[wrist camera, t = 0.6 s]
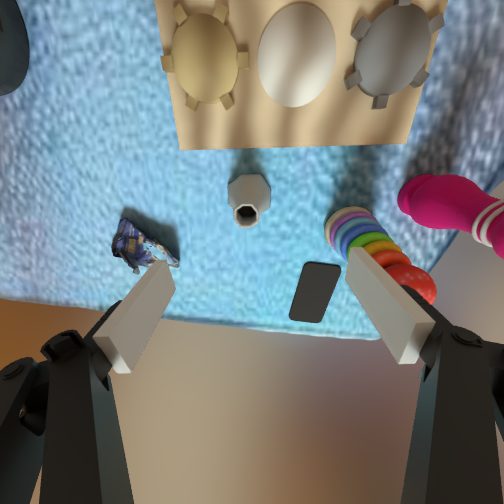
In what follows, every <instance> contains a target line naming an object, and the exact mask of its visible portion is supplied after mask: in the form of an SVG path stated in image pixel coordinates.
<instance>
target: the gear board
mask: <svg viewBox="0 0 504 504" xmlns="http://www.w3.org/2000/svg"><path fill="white" fill-rule="evenodd" d="M154 1H155V7H156V12H157V18H158V24H159V30H160V36H161V41H162V47H163V53H164V56H160V57H161V62H162V68H163V70H164V71H165V72H166V73H167V76H168V82H169V88H170V94H171V100H172V106H173V111H174V117H175V123H176V129H177V135H178V140H179V146H180V150H203V149H239V148H275V147H311V146H347V145H382V144H406V142H407V139H408V136H409V132H410V129H411V125H412V122H413V118H414V115H415V112H416V108H417V105H418V101H419V98H420V95H421V91H422V88H423V84H424V82H425V80H426V79H427V78H428V76H429V75H430V74H429V73H428V72H427V71H428V67H429V64H430V60H431V57H432V54H433V50H434V47H435V43H436V40H437V36H438V33H439V30H440V28H442V27H443V26H444V18H443V16H444V13H445V9H446V6H447V2H448V0H154Z"/></svg>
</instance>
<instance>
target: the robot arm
mask: <svg viewBox="0 0 504 504" xmlns="http://www.w3.org/2000/svg"><path fill="white" fill-rule="evenodd" d="M28 63H29V47H28V40H27V35H26V30H25V27H24V23H23V20H22V17H21V15H20V12H19V9H18V7H17V5H16V3H15V0H0V96H2V95H6V94H9V93H11V92H13V91H14V90H16V89H17V88H18V87H19V86H20V85H21V83H22V82H23V80H24V78H25V76H26V73H27V69H28ZM345 280H346V282H347V284H348V285H349V287H350V288H351V290H352V292H353V293H354V295H355V296H356V298H357V299H358V301H359V303H360V304H361V306H362V307H363V309H364V310H365V312H366V314H367V315H368V317H369V318H370V320H371V322H372V323H373V325H374V326H375V328H376V329H377V331H378V333H379V334H380V336H381V337H382V339H383V340H384V342H385V343H386V345H387V347H388V348H389V350H390V351H391V353H392V354H393V356H394V358H395V359H396V361H397V363H398V364H415V363H416V361H417V359H418V357H419V355H420V357H421V358H422V359H423V361H424V362H425V365H424V367H423V368H422V371H421V372H420V374H419V376H418V378H421V383H420V389H419V395H418V401H417V407H416V413H415V419H414V425H413V431H412V437H411V443H410V449H409V456H408V461H407V467H406V473H405V479H404V486H403V491H402V497H401V503H400V504H503V497H502V487H501V477H500V467H499V457H498V447H497V437H496V428H495V421H496V424H497V426H498V429H499V431H500V434H501V436H502V439H503V441H504V344H499V343H494V342H489V341H484V340H482V338H481V337H480V336H478V335H476V334H475V333H473V332H472V331H470V330H467V329H465V328H462V327H458V326H453V325H452V324H451V323H450V322H449V321H448V320H447V319H446V318H445V317H444V316H443V315H442V314H441V313H439V312H438V311H437V310H436V309H435V308H434V307H433V306H432V305H431V304H429V302H428V301H427V300H426V299H424V298H423V296H421V295H420V294H419V293H418V292H417V291H416V290H415V289H413V288H411V287H409V286H408V285H399V284H398V283H397V282H396V281H395V280H394V279H393V278H392V277H391V276H390V275H389V274H388V273H387V272H386V271H385V270H384V269H383V268H382V267H381V266H380V265H379V264H378V263H377V262H376V261H375V260H374V259H373V258H372V257H371V256H370V255H369V254H368V253H367V252H366V251H365V250H364V249H363V248H362V247H352V248H350V253H349V259H348V265H347V271H346V277H345ZM175 290H176V287H175V284H174V281H173V278H172V275H171V272H170V269H169V266H168V263H167V260H166V259H165V260H156V261H155V262H154V263H153V264H152V265H151V267H150V268H149V269H148V270H147V272H146V273H145V274H144V275H143V276H142V278H141V279H140V280H139V281H138V282H137V284H136V285H135V286H134V287H133V288H132V290H131V291H130V292H129V293H128V295H127V296H126V297H125V298H124V299H123V300H119V301H118V302H116V303H115V304H114V305H112V306H111V307H110V308H109V309H108V310H107V312H106V313H105V315H103V316H102V317H101V319H100V321H98V322H97V323H96V324H95V325H94V327H93V328H92V329H91V330H90V331H89V332H88V333H87V335H86V336H85V337H84V338H82V337H81V336H80V334H79V333H78V331H76V330H67V331H64V332H61V333H59V334H57V335H56V336H54V337H52V338H51V339H50V340H48V341H47V342H46V343H45V344H44V345H43V346H42V348H41V351H40V352H41V353H42V354H43V355H44V356H45V357H46V358H47V360H46V361H43V362H40V363H37V362H36V361H34V359H33V358H31V357H26V358H21V359H19V360H17V361H14V362H12V363H10V364H9V365H7V366H6V367H4V368H3V369H2V370H1V371H0V504H30V501H31V498H32V494H33V491H34V488H35V485H36V482H37V479H38V476H39V473H40V470H41V466H42V476H41V487H40V499H39V504H134V501H133V495H132V490H131V484H130V479H129V474H128V469H127V463H126V458H125V453H124V448H123V442H122V437H121V431H120V427H119V421H118V416H117V410H116V405H115V400H114V395H113V389H112V384H111V378H110V376H109V375H108V372H109V371H110V369H111V367H113V368H114V370H115V371H116V372H117V373H132V371H133V369H134V367H135V365H136V363H137V362H138V360H139V358H140V356H141V354H142V352H143V350H144V348H145V347H146V345H147V343H148V341H149V339H150V337H151V335H152V333H153V331H154V330H155V328H156V326H157V324H158V322H159V320H160V318H161V317H162V315H163V313H164V311H165V309H166V307H167V305H168V303H169V302H170V300H171V298H172V296H173V294H174V292H175ZM20 410H22V411H21V414H20ZM19 414H20V416H19Z"/></svg>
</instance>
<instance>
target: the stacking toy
mask: <svg viewBox="0 0 504 504" xmlns="http://www.w3.org/2000/svg"><path fill="white" fill-rule="evenodd" d="M324 233H325V238H326V241H327V242H328V244H329V245H330V246H331V247H333V248H334V250H335V251H337V253H338V254H339V255H340V256H341V257H343V258H344V259H345V260H346V261H347V262H348V259H349V253H350V248H352V247H362V248H363V249H364V250H365V251H366V252H367V253H368V254H369V255H370V256H371V257H372V258H373V259H374V260H375V261H376V262H377V263H378V264H379V265H380V266H381V267H382V268H383V269H384V270H385V271H386V272H387V273H388V274H389V275H390V276H391V277H392V278H393V279H394V280H395V281H396V282H397V283H398V284H399V285H408V286H409V287H411V288H413V289H415V290H416V291H417V292H418V293H419V294H420V295H421V296H423V298H424V299H426V300H427V301H428V302H429V304H431V305H432V304H433V302H434V300H435V298H436V292H437V291H436V285H435V283H434V281H433V279H432V278H431V277H430V276H429V274H428V273H426V272H425V271H424V270H422V269H420V268H418V267H416V266H413V265H411V261H410V259H409V258H408V257H407V256H406V255H405V254H403V252H402V250H401V249H400V248H399V246H397V245H396V244H394V242H393V240H392V239H391V238H390V237H389V235H388V233H387V232H386V231H385V230H384V229H383V228H382V226H381V225H380V224H379V223H378V221H377V220H376V218H375V217H374V216H372V214H371V213H370V212H369V211H368V210H366V209H364V208H362V207H358V206H349V207H345V208H342V209H340V210H338V211H337V212H335V213H334V214H333V215H332V216H331V217H330V218H329V220H328V221H327V223H326V226H325V231H324Z"/></svg>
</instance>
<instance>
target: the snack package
mask: <svg viewBox="0 0 504 504" xmlns="http://www.w3.org/2000/svg"><path fill="white" fill-rule="evenodd" d="M118 227H119V228H118V230H117V236H116V237H115V238H114V240H113V242H112V247H111V248H112V253H113V256H114V257H120V258H123V259H124V261H125V262H126V263H127V264H128V266H130V267H131V268H133V269H134V270H133V273H135V274H139V273H140V271H139V268H138V267H139V266H138V265H140V266H142V265H143V266H146V267H151V265H152V264H153V263H154V262H155V261H156V260H160V259H158V258H157V257H155V256H154V255H153V254H152V253H151V251H146V250H145V251H144V250H143V245H142V243H141V242H144V243H148V244H151V245H153V246H154V247H156V248H158V249H159V250H160V251H161V252H162V253H163V254H164V255H165V256H166V258H168V259H169V260H170V261H171V262H173V263H172V264H168V266H172V267H176V268H178V267H179V262H178V260H176V259H175V258H174V256H173V255H171V253H170V252H169V251H168V249H167V248H166V247H164V245H163V244H161V243H159V242H158V241H157V240H156V239H155V238H153V237H152V236H150V235H148V234H147V233H146V232H144V231H142V230H141V229H139V228H138V227H136V226H135V225H134V224H133V223H132V222H131V221H129V219H128V218H123V219H121V220H120V223H119V226H118ZM122 235H123V237H122ZM121 237H122V238H121ZM119 238H121V239H120V240H118V239H119ZM150 247H152V246H150ZM146 248H147V247H146ZM147 249H148V248H147ZM148 250H149V249H148ZM177 262H178V264H175V263H177Z"/></svg>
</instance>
